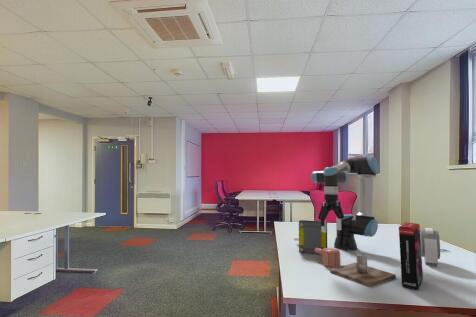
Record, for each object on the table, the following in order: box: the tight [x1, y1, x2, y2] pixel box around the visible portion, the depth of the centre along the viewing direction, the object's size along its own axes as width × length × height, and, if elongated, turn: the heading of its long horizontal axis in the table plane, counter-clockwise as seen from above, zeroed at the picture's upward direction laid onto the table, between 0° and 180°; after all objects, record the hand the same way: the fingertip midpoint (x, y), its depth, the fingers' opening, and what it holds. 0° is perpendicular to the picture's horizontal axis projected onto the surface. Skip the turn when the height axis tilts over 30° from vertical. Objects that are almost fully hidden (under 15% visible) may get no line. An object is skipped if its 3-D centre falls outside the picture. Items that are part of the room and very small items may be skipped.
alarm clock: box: [420, 227, 441, 268], centre depth 156 cm, size 18×8×20 cm, turn 148°
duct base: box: [329, 254, 397, 288], centre depth 136 cm, size 22×22×10 cm
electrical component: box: [298, 219, 328, 255], centre depth 178 cm, size 18×10×20 cm, turn 68°
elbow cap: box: [314, 247, 341, 268], centre depth 155 cm, size 16×9×8 cm, turn 33°
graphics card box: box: [398, 221, 424, 291], centre depth 126 cm, size 17×7×27 cm, turn 139°
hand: (331, 231), depth 153 cm, fingers open, 13 cm apart
